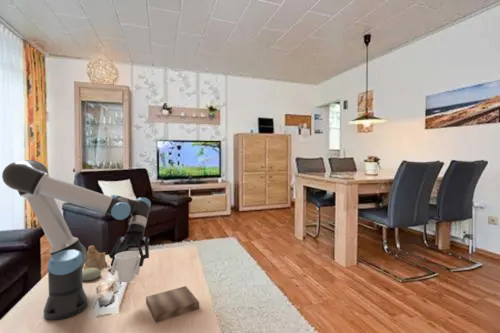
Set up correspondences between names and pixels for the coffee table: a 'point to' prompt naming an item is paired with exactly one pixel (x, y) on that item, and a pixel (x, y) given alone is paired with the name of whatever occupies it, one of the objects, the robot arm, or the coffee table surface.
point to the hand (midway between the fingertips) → (124, 273)
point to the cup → (127, 265)
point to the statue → (94, 259)
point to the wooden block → (171, 303)
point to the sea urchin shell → (90, 274)
